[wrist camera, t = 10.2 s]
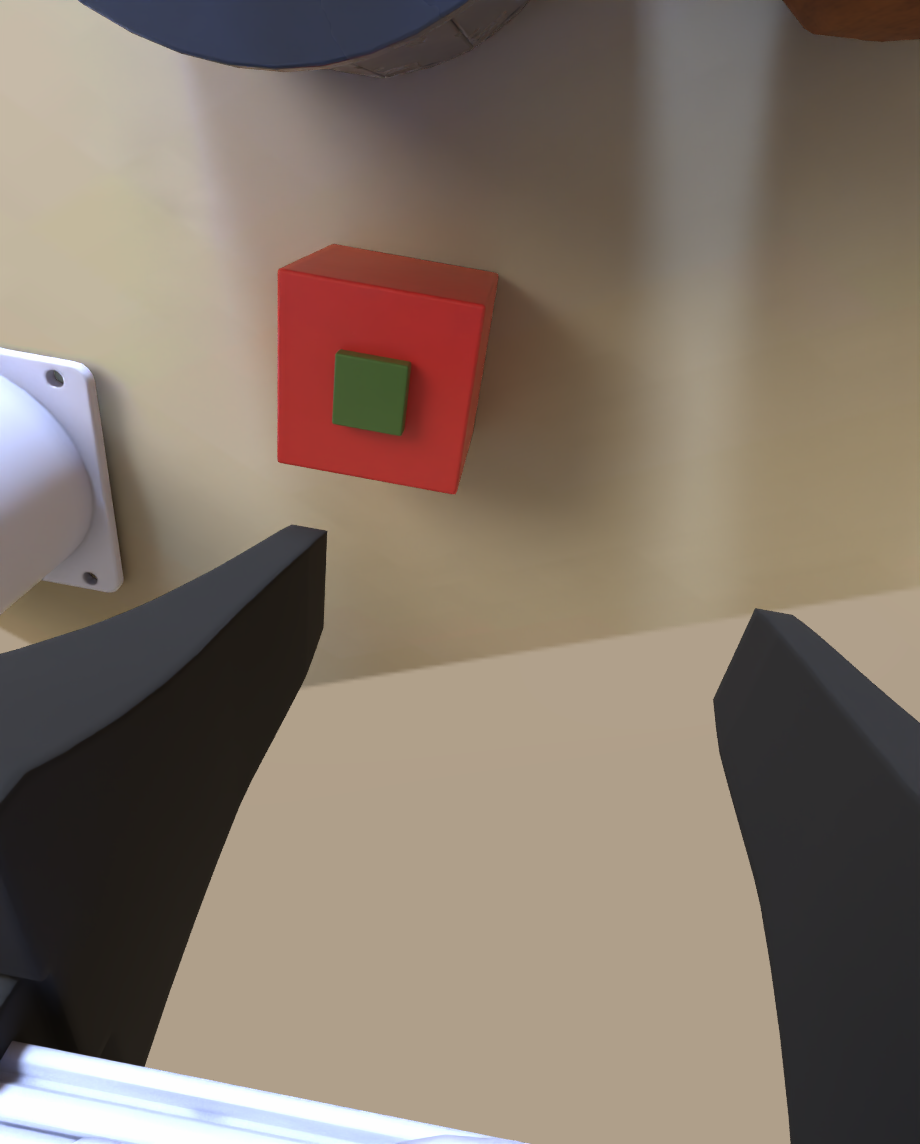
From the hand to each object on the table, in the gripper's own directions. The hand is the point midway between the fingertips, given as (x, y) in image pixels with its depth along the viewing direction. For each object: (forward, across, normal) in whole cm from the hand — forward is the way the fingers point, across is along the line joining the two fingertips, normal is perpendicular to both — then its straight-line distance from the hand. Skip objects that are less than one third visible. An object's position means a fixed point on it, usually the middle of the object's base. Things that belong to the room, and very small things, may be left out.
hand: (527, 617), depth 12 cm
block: (+10, +4, -2) cm, 10 cm away
